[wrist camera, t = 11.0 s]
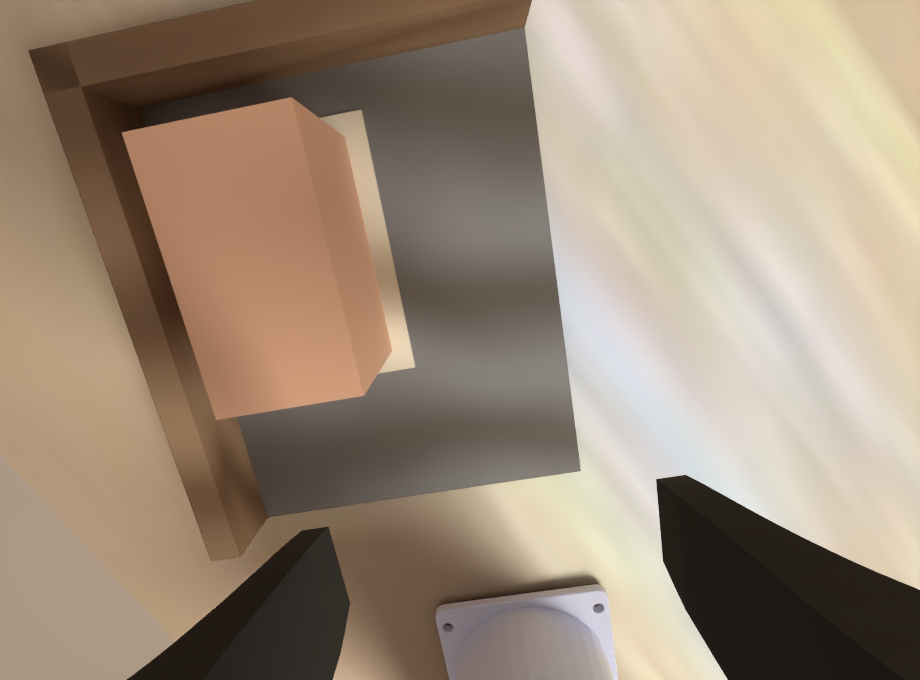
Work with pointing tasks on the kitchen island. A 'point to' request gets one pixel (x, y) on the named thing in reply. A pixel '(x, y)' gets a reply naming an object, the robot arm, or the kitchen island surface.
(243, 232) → the block
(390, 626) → the kitchen island surface
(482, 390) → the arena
